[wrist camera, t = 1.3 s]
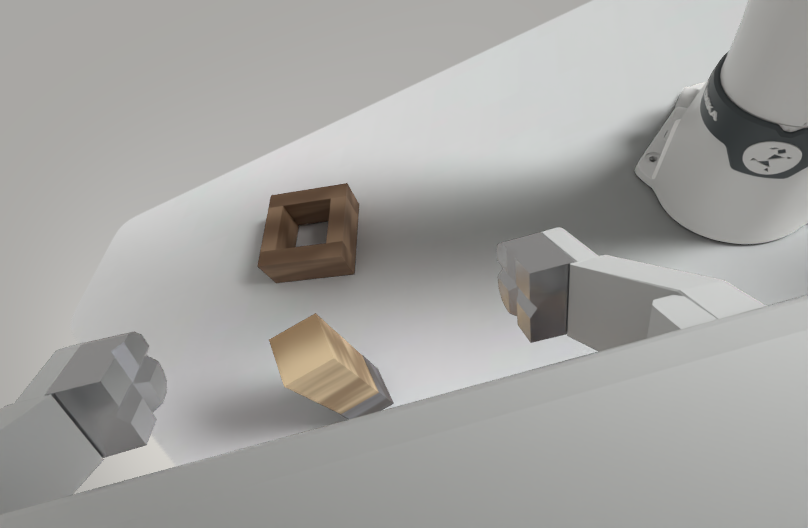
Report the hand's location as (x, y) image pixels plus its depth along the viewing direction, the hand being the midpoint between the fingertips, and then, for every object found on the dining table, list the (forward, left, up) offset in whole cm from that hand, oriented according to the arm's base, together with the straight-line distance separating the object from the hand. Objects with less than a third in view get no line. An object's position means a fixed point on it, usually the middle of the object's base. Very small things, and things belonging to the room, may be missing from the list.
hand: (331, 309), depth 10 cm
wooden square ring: (-14, -28, -35) cm, 47 cm away
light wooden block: (0, -12, -35) cm, 37 cm away
